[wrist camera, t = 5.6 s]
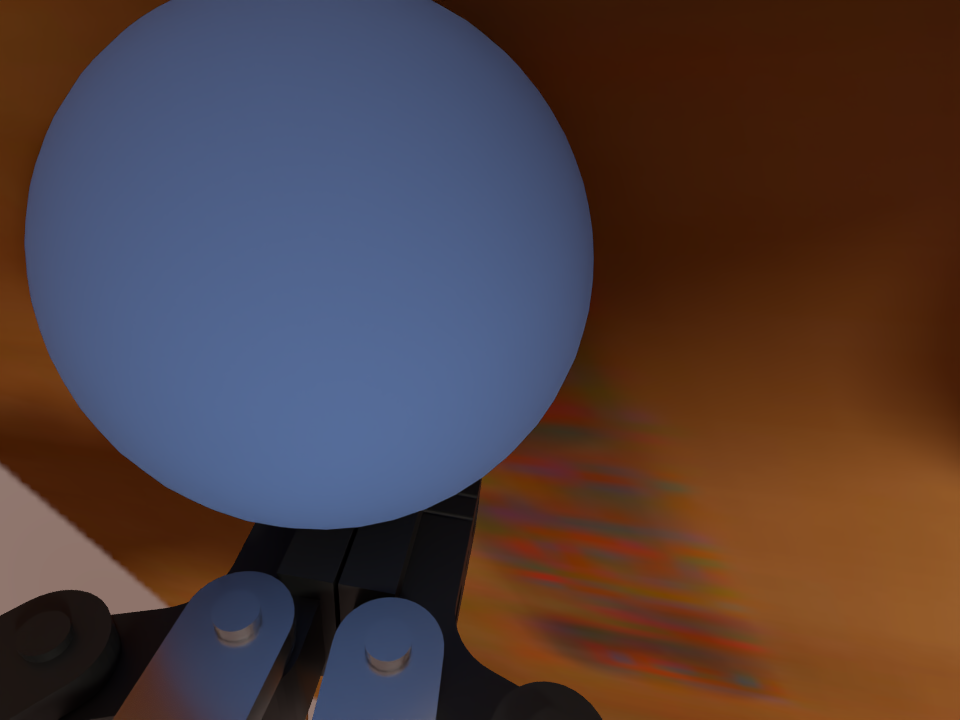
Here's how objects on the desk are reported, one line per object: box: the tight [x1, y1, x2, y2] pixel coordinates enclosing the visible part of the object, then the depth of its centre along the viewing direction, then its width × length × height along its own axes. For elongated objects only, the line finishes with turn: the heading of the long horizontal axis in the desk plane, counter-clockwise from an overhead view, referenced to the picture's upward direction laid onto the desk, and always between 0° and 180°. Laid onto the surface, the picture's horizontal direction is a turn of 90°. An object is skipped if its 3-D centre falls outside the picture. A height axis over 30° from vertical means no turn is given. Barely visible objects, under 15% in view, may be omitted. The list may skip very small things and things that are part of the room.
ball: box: [25, 0, 594, 530], centre depth 8 cm, size 6×6×6 cm
